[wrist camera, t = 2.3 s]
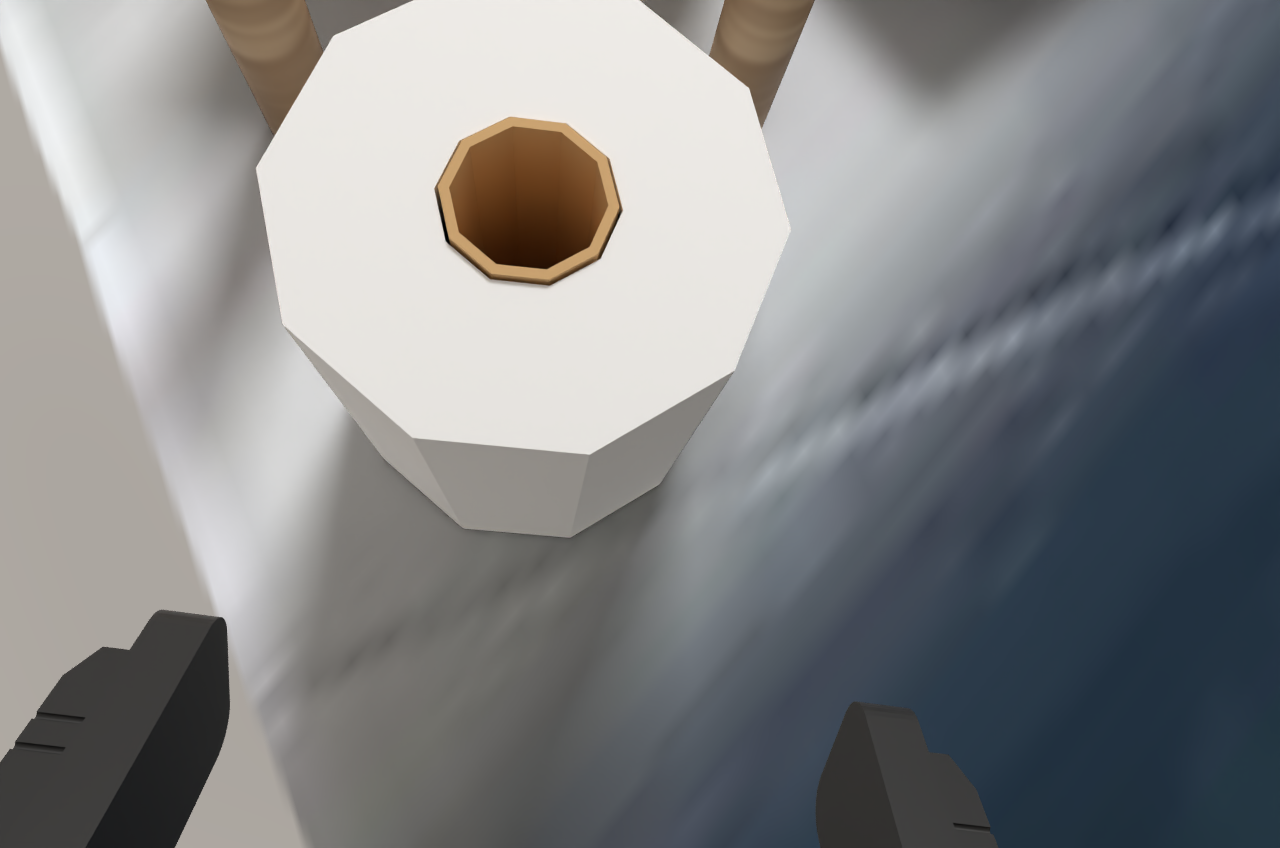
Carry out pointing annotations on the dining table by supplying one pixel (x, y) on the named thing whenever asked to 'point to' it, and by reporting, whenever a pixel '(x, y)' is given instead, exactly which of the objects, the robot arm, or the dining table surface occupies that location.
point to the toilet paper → (522, 247)
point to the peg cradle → (290, 49)
